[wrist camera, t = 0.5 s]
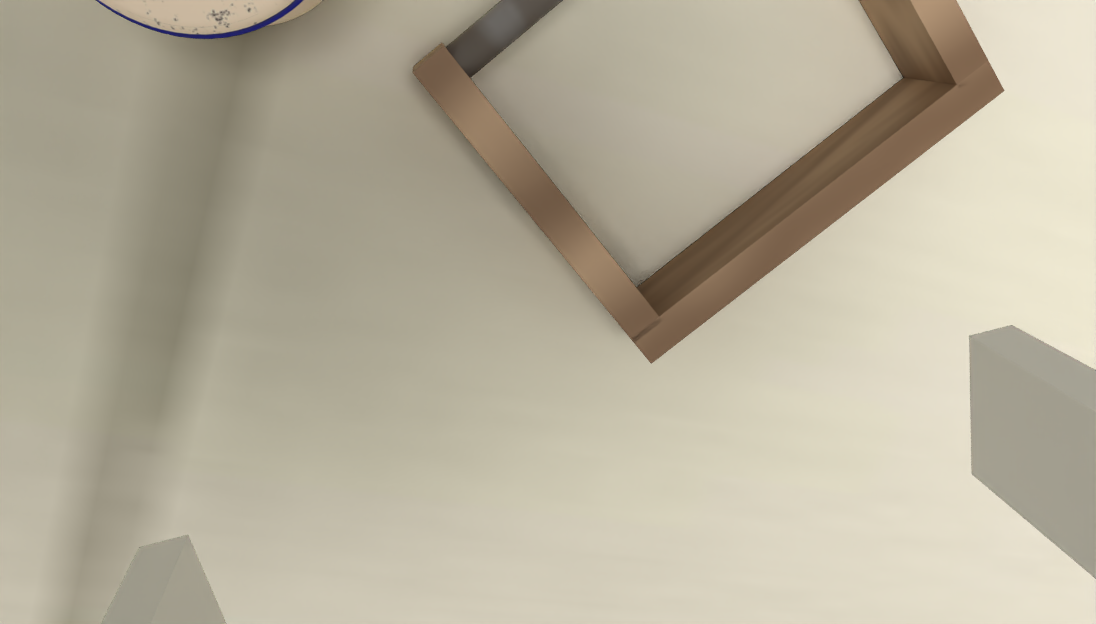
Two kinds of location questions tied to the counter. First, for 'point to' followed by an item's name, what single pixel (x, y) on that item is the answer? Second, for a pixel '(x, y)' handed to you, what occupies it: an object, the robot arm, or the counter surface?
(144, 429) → the counter surface
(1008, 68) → the counter surface
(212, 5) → the teacup with lid
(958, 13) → the wooden tray
